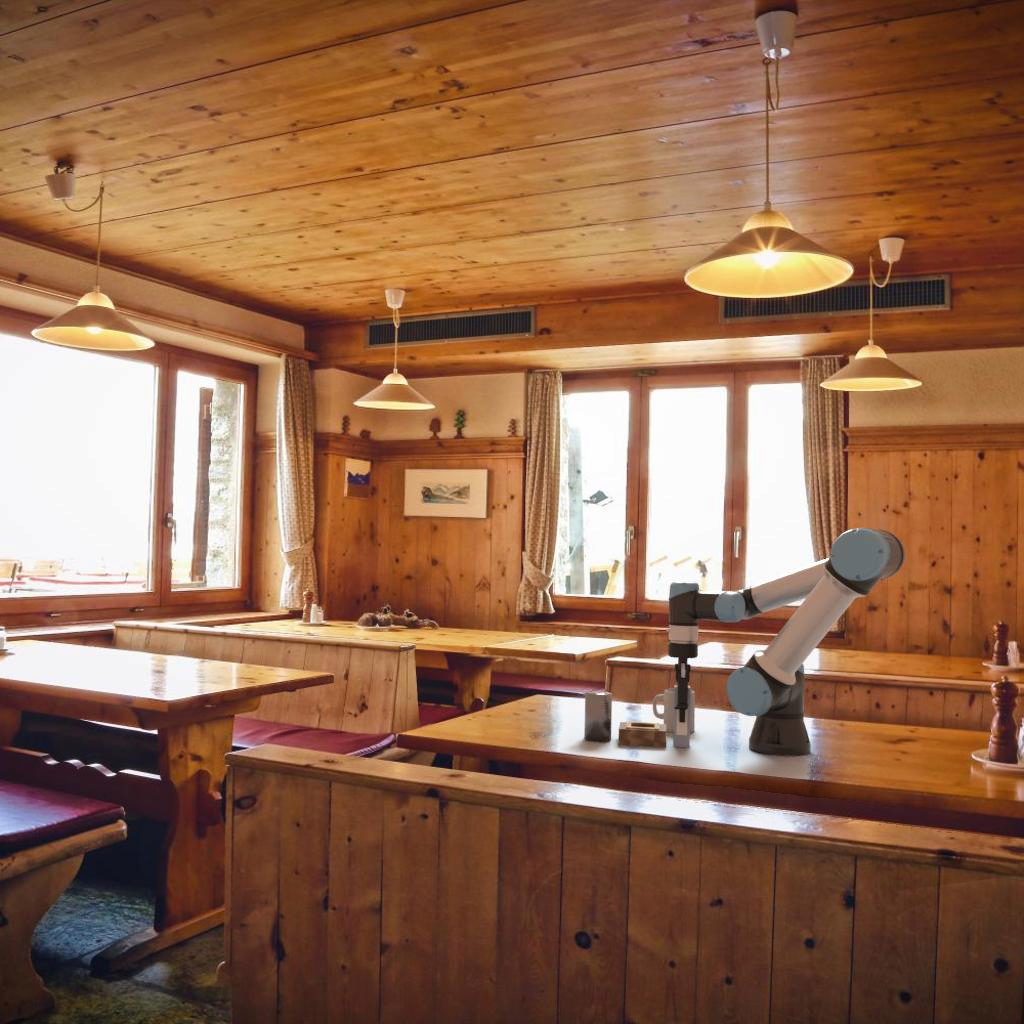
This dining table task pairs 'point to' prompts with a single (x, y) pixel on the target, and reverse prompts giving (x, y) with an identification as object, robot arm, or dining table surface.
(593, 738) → the grey storage canister
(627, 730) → the socket block
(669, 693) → the mug
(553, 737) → the dining table surface
